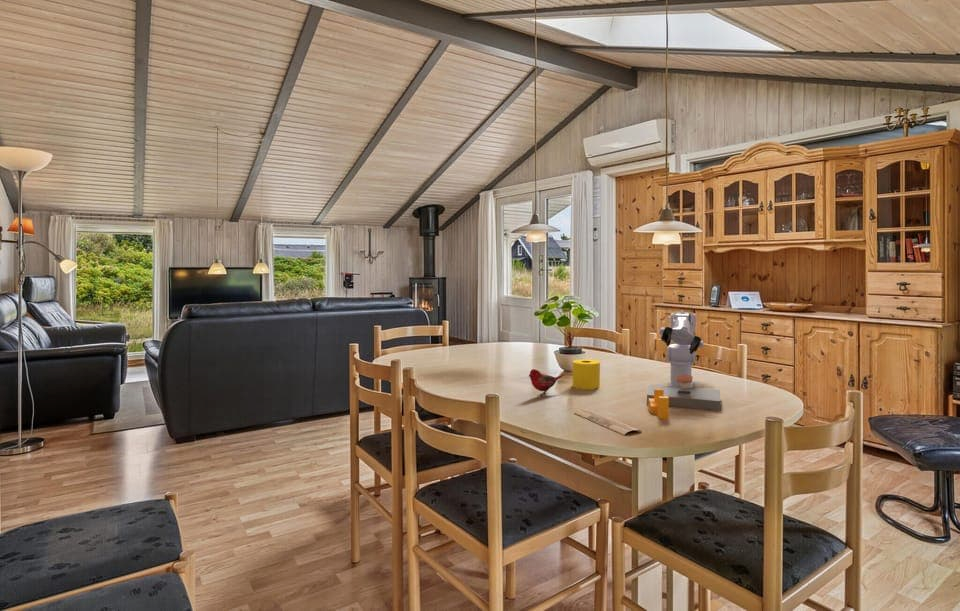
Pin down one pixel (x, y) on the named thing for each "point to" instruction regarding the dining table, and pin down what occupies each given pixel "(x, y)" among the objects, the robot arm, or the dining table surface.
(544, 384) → the decorative bird figurine
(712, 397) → the plate
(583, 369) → the yellow toilet paper roll
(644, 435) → the dining table surface
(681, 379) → the knob
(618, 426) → the newspaper
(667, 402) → the pipe clamp
